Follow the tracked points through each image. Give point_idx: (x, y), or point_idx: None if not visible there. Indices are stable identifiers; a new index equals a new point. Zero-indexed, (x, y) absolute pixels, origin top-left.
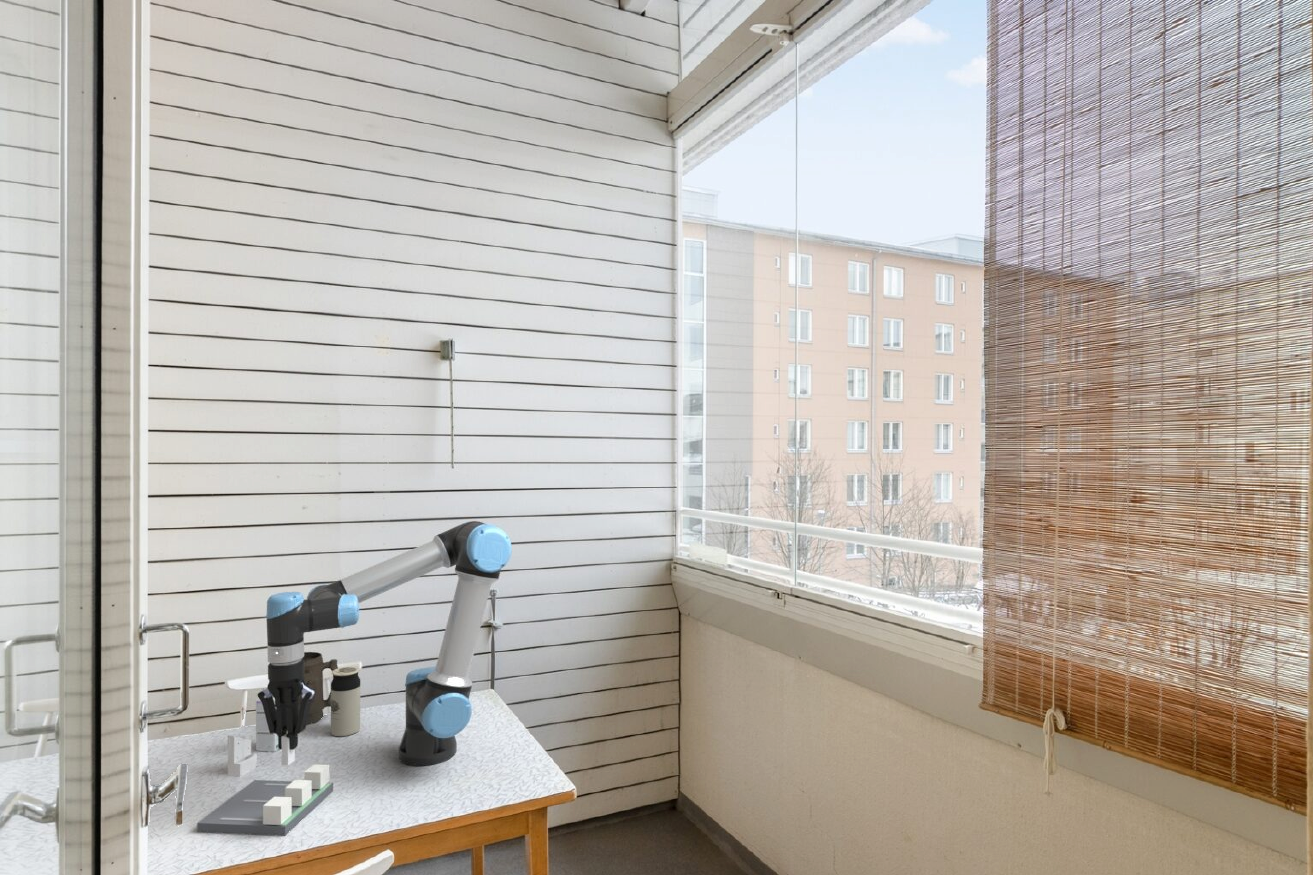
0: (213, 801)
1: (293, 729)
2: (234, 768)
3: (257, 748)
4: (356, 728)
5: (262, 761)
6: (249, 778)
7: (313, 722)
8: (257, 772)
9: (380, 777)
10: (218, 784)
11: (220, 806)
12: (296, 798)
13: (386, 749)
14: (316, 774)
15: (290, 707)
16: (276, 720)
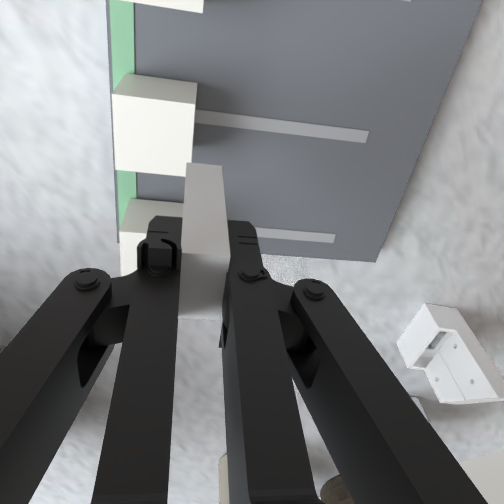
0: (465, 179)
1: (133, 298)
2: (448, 319)
3: (416, 401)
4: (220, 467)
5: (389, 360)
6: (397, 293)
7: (331, 480)
8: (385, 318)
9: (24, 295)
10: (470, 266)
11: (437, 99)
12: (144, 84)
13: (106, 408)
14: (137, 227)
15: (114, 499)
16: (311, 381)
